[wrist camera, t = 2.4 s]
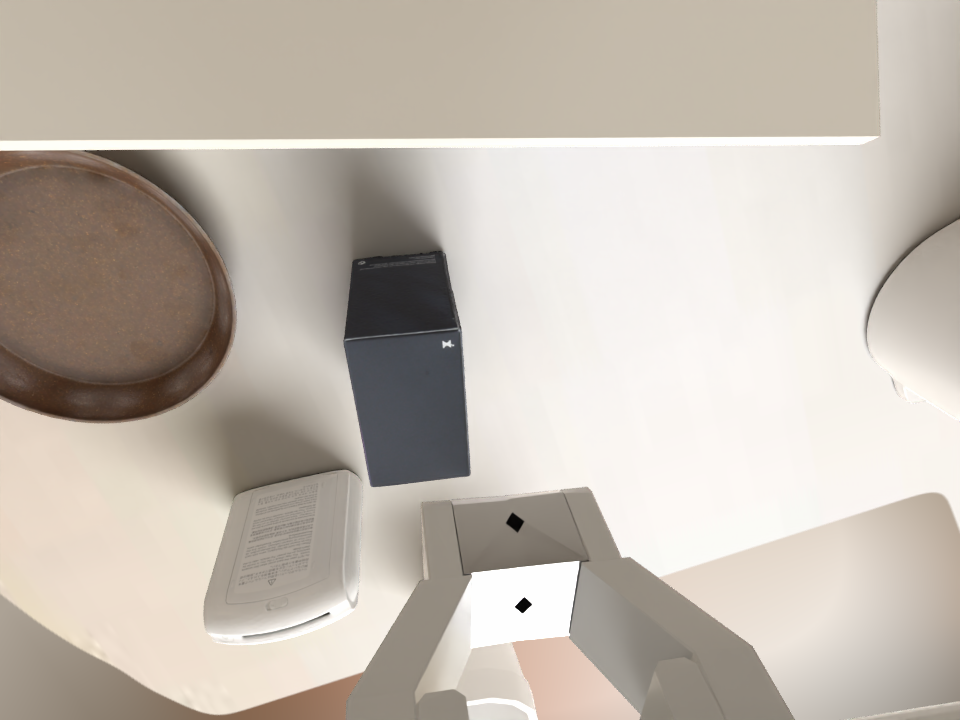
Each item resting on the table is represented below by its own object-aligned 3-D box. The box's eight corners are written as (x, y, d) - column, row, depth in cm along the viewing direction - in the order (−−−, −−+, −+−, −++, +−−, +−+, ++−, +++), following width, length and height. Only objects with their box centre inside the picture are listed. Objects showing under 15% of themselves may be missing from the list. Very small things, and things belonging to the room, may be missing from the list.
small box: (345, 257, 39) (336, 337, 30) (445, 247, 40) (466, 323, 31) (368, 392, 45) (366, 493, 36) (456, 381, 45) (476, 478, 36)
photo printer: (246, 528, 50) (212, 671, 39) (225, 490, 47) (183, 633, 37) (369, 498, 50) (368, 633, 40) (354, 460, 48) (349, 593, 37)
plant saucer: (45, 57, 31) (16, 63, 29) (302, 291, 40) (297, 312, 37) (-145, 267, 35) (-185, 289, 33) (127, 438, 44) (111, 467, 41)
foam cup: (397, 573, 55) (402, 719, 44) (495, 546, 55) (524, 684, 44) (426, 632, 60) (437, 775, 49) (515, 607, 60) (546, 745, 49)
